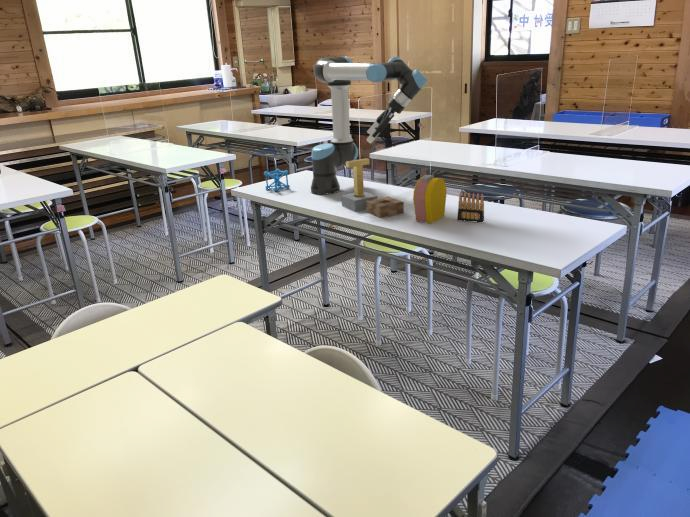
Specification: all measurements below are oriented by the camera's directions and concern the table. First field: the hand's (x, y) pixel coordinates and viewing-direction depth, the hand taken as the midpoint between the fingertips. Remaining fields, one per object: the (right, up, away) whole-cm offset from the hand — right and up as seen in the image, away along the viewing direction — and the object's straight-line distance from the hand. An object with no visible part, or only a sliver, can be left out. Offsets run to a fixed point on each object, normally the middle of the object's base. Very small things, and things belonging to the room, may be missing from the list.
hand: (368, 137), depth 252 cm
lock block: (+7, -36, -12) cm, 38 cm away
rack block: (-4, -32, 0) cm, 32 cm away
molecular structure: (-47, -19, +39) cm, 64 cm away
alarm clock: (+25, -39, -23) cm, 52 cm away
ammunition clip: (+41, -41, -29) cm, 65 cm away
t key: (-4, -32, 0) cm, 32 cm away
